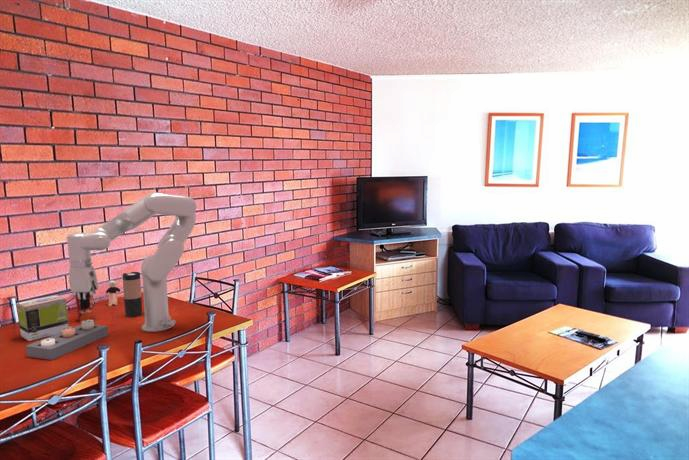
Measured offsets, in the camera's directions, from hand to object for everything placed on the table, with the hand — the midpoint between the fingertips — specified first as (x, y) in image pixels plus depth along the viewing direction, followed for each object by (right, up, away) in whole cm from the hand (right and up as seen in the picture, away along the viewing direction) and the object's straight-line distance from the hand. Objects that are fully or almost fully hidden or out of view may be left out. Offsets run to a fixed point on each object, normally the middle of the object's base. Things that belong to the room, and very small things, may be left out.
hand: (85, 308), depth 185 cm
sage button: (0, -10, +2) cm, 10 cm away
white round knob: (-5, -13, -15) cm, 21 cm away
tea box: (-21, -12, +7) cm, 25 cm away
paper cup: (-14, -10, +25) cm, 31 cm away
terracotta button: (-3, -11, -6) cm, 13 cm away
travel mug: (+5, -9, +32) cm, 34 cm away
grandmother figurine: (-13, -7, +49) cm, 51 cm away
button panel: (-3, -13, -6) cm, 15 cm away
